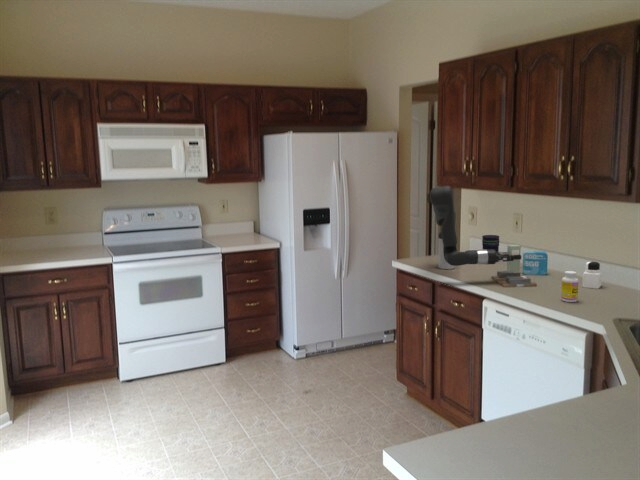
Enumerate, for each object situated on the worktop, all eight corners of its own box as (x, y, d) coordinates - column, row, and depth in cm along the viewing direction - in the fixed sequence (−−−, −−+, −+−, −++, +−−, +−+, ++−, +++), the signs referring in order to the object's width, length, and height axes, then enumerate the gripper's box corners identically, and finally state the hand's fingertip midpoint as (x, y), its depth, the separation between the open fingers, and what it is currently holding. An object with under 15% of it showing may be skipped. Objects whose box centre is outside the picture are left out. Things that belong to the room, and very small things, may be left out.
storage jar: (478, 259, 343) (479, 235, 341) (493, 258, 345) (494, 234, 342) (486, 262, 333) (487, 237, 331) (502, 261, 335) (502, 236, 333)
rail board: (491, 277, 295) (491, 270, 295) (521, 277, 296) (522, 269, 295) (503, 287, 276) (504, 279, 275) (536, 286, 276) (536, 278, 275)
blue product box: (522, 274, 301) (523, 252, 299) (522, 272, 305) (523, 250, 303) (547, 275, 298) (547, 253, 296) (546, 273, 302) (547, 251, 300)
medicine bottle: (601, 285, 273) (602, 261, 271) (598, 289, 267) (599, 264, 265) (584, 284, 277) (586, 260, 275) (582, 287, 271) (583, 262, 269)
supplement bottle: (572, 303, 245) (573, 274, 243) (558, 300, 250) (559, 272, 248) (580, 300, 248) (581, 272, 246) (566, 297, 254) (567, 269, 252)
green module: (506, 270, 287) (507, 244, 285) (516, 269, 287) (517, 244, 285) (509, 272, 282) (510, 246, 280) (519, 271, 282) (520, 246, 280)
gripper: (489, 252, 276) (524, 251, 276) (481, 247, 290) (514, 246, 290) (489, 267, 277) (524, 266, 277) (480, 261, 291) (514, 260, 291)
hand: (519, 256), depth 283 cm, fingers closed on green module, 4 cm apart
